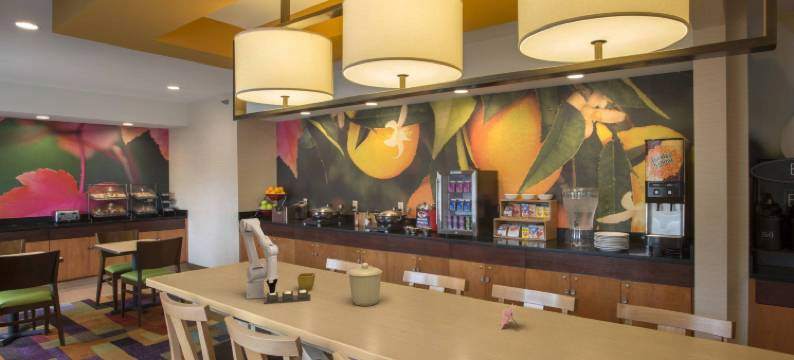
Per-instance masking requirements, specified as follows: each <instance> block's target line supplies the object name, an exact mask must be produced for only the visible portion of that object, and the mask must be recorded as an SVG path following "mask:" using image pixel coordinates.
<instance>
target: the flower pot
mask: <svg viewBox="0 0 794 360" xmlns="http://www.w3.org/2000/svg"><path fill="white" fill-rule="evenodd" d="M296 278H297V284H298V288H299V289H300V290H308V292H309V291H312V289H313V287H314V285H315V279H316V273H315V272H308V273H307V272H304V273H303V272H302V273H300V274H299V275H298V276H297V277H296Z"/></svg>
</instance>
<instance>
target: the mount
mask: <svg viewBox="0 0 794 360" xmlns="http://www.w3.org/2000/svg"><path fill="white" fill-rule="evenodd" d="M290 291H291V293H290V294H284V292H285V291H282V293H281V295H280V296H279V292H278V291H277V292H276V291H275V292H276V295H269V293H270V292H267V293H266V296H265V297H264V298H265V299H264V300H263V301H264V302H263V305H272V304H273V305H274V304H284V303H285V304H287V303H299V302H300V303H301V302H311V301H312V299H311V294H310V293H309V291H308V290H306V292H305V293H299V291H300V290H297V295H294V291H293V290H290Z"/></svg>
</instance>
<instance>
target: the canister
mask: <svg viewBox="0 0 794 360" xmlns="http://www.w3.org/2000/svg"><path fill="white" fill-rule="evenodd" d="M382 274H383V270H382V269H380V268H378V267H376V266H369V263H368V262H362V263H361V266H357V267H355V268H352V269H350V270H348V271H347V275H348V279H349V288H350V293H351V299H352V302H353V304H354V305H357V306H360V307H362V306H363V307H367V306H373V305H375V304H377V303H378V302H379V300H380V292H381V283H382V281H381V280H382Z"/></svg>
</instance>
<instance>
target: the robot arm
mask: <svg viewBox="0 0 794 360" xmlns="http://www.w3.org/2000/svg"><path fill="white" fill-rule="evenodd" d="M239 221H240V222H239V225H238V227H239V231H240V235H241V236H242V238H243V241H244V242H243V243H244V247H245V250H246V254H247V258H248V263H249V265H248V266H247V268H246V269H245V270H246V278H247V280H248V281H246V284H245V286H246V290H245V291H246V292H245V293H246V295H245V296H246V297H245V299H246V300H249V299H264V298H266V293H265V281H266V284H267V286H268V289H269V293H275V292H276V286H277V283H278V281H279V280H278V278H280V277H281V276H280V275H278V256H279V254H280V249H279V246H278V245H277V244H275V243H273V241H272V240H271V238H270V237H269V236H268V235H265V234H264V231H263V230H262V228H261V222H260V220H259V218H257V217H255V218H242V219H241V220H239ZM254 235H255V236H256V237H257V239H258V244H259V245H260V247H261V248H262V250H263V251H262V252H263V256H264V259H265V265H264V264H263V263H261V262H260V260H259V255H258V252H257V251H258V250H257V247H256V243H255V239H254Z"/></svg>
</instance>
